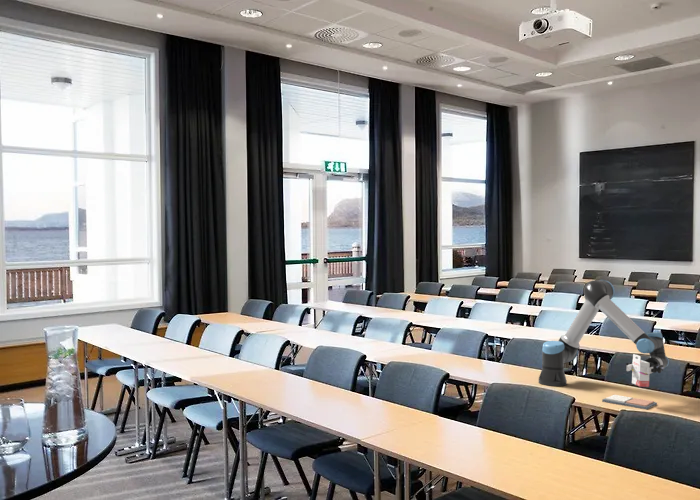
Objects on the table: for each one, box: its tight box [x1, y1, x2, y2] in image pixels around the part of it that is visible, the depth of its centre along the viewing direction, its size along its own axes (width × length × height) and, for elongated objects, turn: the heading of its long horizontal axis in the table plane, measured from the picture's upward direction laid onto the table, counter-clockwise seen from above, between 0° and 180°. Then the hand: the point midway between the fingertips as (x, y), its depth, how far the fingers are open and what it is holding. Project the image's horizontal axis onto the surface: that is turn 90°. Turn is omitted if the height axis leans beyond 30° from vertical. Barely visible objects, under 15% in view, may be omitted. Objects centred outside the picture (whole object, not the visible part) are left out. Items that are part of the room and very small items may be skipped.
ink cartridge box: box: [631, 353, 650, 388], centre depth 304 cm, size 9×5×15 cm, turn 1°
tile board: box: [601, 394, 658, 410], centre depth 308 cm, size 21×15×2 cm
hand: (637, 369), depth 301 cm, fingers closed on ink cartridge box, 9 cm apart
